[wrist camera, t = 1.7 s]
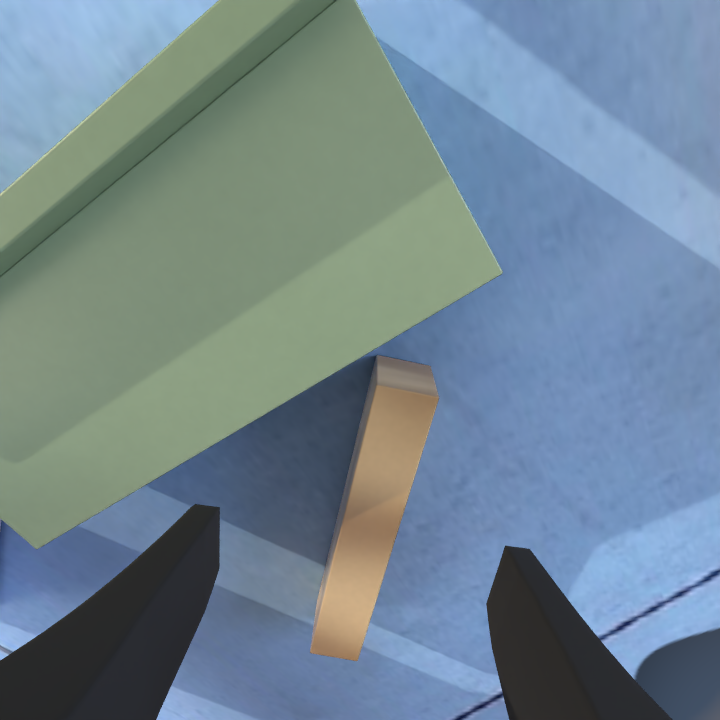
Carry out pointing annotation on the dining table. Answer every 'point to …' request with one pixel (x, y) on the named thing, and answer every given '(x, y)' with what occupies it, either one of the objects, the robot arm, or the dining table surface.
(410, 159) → the shelf
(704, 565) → the dining table surface
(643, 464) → the dining table surface
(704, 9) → the dining table surface
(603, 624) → the dining table surface
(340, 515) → the stick
